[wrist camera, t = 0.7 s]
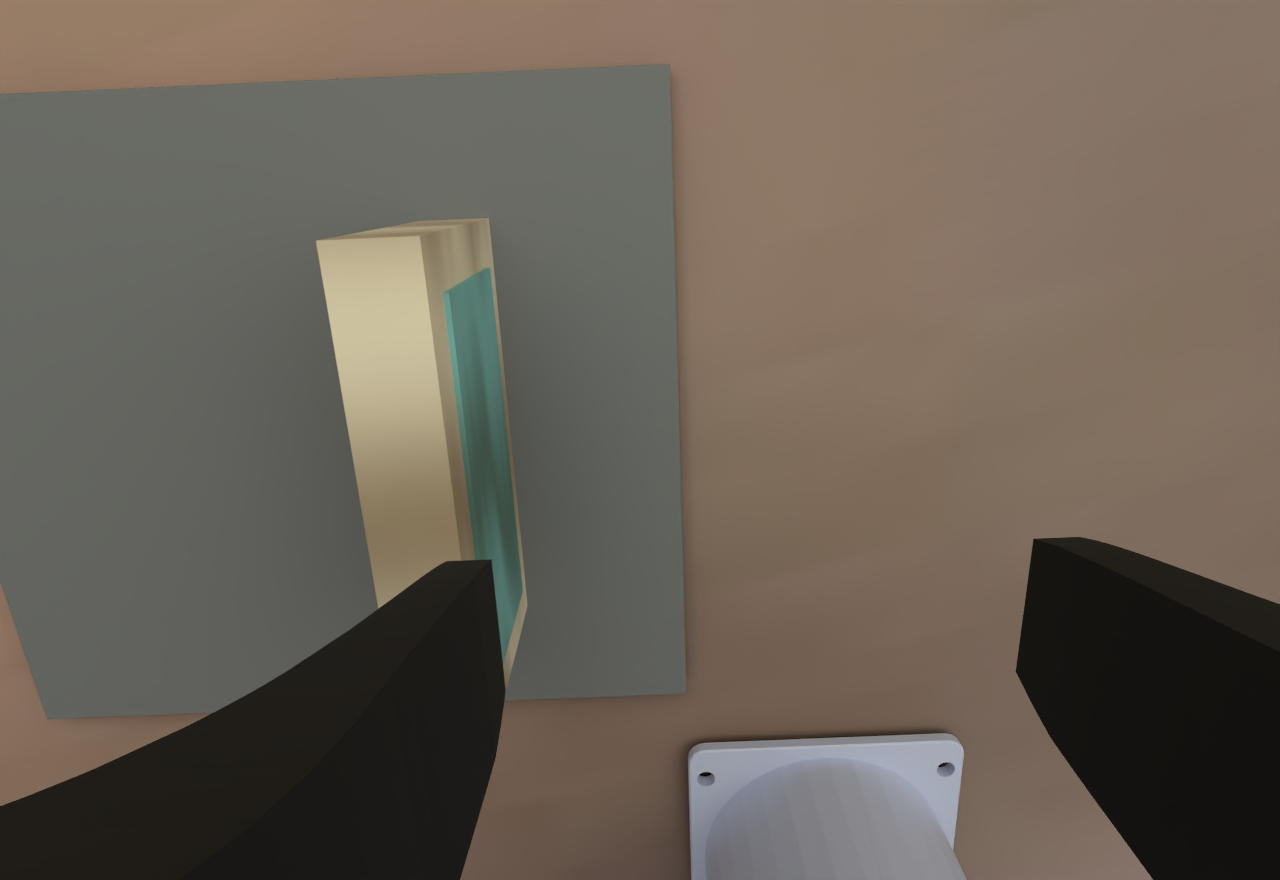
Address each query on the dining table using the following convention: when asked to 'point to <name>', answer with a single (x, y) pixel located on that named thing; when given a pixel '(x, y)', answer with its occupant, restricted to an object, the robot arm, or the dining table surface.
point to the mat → (322, 372)
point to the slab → (427, 405)
